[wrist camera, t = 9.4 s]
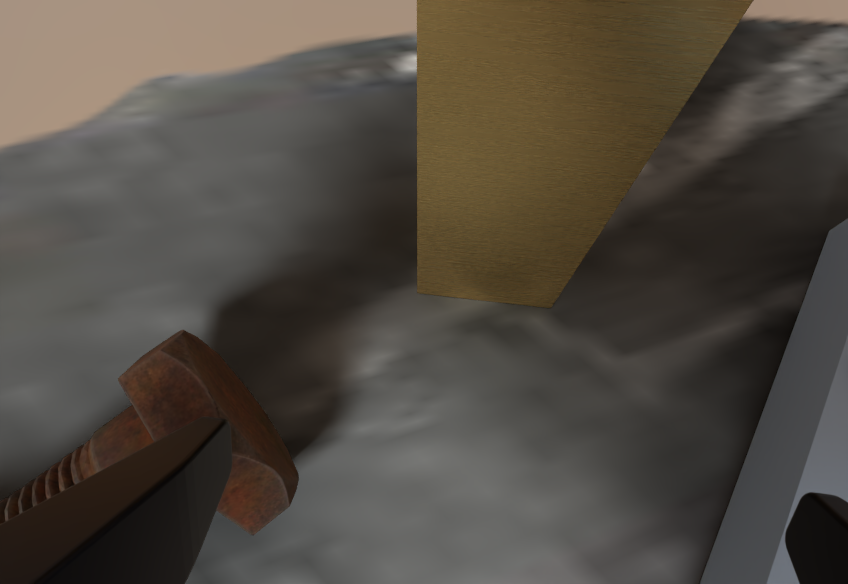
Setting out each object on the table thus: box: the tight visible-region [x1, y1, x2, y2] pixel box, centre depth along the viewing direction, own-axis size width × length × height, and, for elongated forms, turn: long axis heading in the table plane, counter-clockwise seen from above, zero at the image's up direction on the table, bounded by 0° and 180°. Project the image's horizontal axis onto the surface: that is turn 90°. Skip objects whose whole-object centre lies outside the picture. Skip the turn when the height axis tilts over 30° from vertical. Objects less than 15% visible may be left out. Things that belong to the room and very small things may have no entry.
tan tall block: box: [417, 0, 753, 308], centre depth 13 cm, size 4×4×13 cm
